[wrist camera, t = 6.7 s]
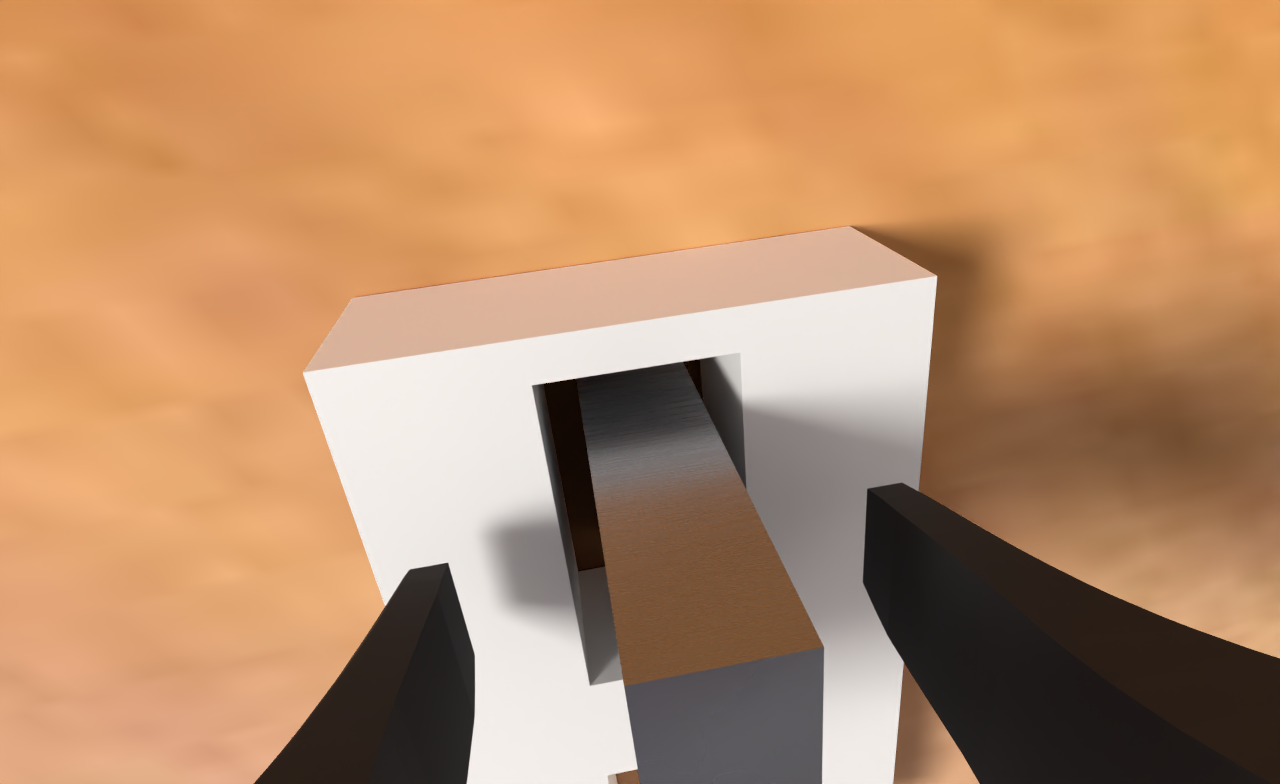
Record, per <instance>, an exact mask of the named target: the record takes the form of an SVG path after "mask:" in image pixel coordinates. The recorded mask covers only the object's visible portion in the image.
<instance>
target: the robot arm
mask: <svg viewBox="0 0 1280 784" xmlns="http://www.w3.org/2000/svg"><path fill="white" fill-rule="evenodd" d="M863 584H864V587H865V589H866V591H867V593H868V595H869V598H870V600H871V602H872V604H873V606H874V609H875V611H876V613H877V615H878V617H879V619H880V621H881V623H882V625H883V627H884V629H885V632H886V634H887V636H888V637H889V639H890V641H891V642H892V644H893V646H894V647H895V649H896V650H897V652H898V654H899V655H900V657H901V658H902V660H903V662H904V663H905V665H906V666H907V668H908V669H909V671H910V673H911V674H912V676H913V677H914V679H915V681H916V682H917V684H918V685H919V687H920V688H921V690H922V692H923V693H924V695H925V696H926V698H927V699H928V701H929V702H930V704H931V706H932V707H933V709H934V710H935V712H936V713H937V715H938V717H939V718H940V720H941V721H942V723H943V724H944V726H945V727H946V729H947V731H948V732H949V734H950V735H951V737H952V738H953V740H954V742H955V743H956V745H957V746H958V748H959V749H960V751H961V752H962V754H963V756H964V757H965V759H966V761H967V762H968V764H969V766H970V768H971V769H972V771H973V773H974V774H975V776H976V778H977V780H978V781H979V783H980V784H1280V659H1279V658H1276V657H1273V656H1270V655H1267V654H1264V653H1261V652H1258V651H1255V650H1252V649H1249V648H1246V647H1243V646H1240V645H1237V644H1235V643H1232V642H1229V641H1226V640H1223V639H1221V638H1218V637H1215V636H1212V635H1209V634H1207V633H1204V632H1201V631H1198V630H1195V629H1193V628H1190V627H1187V626H1185V625H1182V624H1180V623H1177V622H1175V621H1172V620H1169V619H1167V618H1164V617H1162V616H1159V615H1157V614H1155V613H1152V612H1150V611H1148V610H1145V609H1143V608H1141V607H1138V606H1136V605H1134V604H1131V603H1129V602H1126V601H1124V600H1122V599H1119V598H1117V597H1115V596H1112V595H1110V594H1108V593H1106V592H1104V591H1101V590H1099V589H1097V588H1095V587H1093V586H1091V585H1089V584H1086V583H1084V582H1082V581H1080V580H1078V579H1076V578H1074V577H1072V576H1070V575H1068V574H1066V573H1064V572H1062V571H1060V570H1058V569H1056V568H1054V567H1052V566H1050V565H1048V564H1046V563H1044V562H1042V561H1041V560H1039V559H1037V558H1035V557H1033V556H1031V555H1029V554H1027V553H1026V552H1024V551H1022V550H1020V549H1018V548H1016V547H1014V546H1013V545H1011V544H1009V543H1007V542H1005V541H1004V540H1002V539H1000V538H998V537H997V536H995V535H993V534H991V533H989V532H988V531H986V530H984V529H982V528H981V527H979V526H977V525H976V524H974V523H972V522H970V521H969V520H967V519H965V518H963V517H962V516H960V515H958V514H957V513H955V512H953V511H952V510H950V509H948V508H946V507H945V506H943V505H941V504H940V503H938V502H936V501H934V500H933V499H931V498H929V497H928V496H926V495H924V494H922V493H921V492H919V491H917V490H915V489H913V488H911V487H910V486H908V485H906V484H904V483H896V484H891V485H885V486H879V487H874V488H868V489H867V502H866V523H865V544H864V565H863ZM474 718H475V654H474V650H473V647H472V644H471V640H470V637H469V633H468V630H467V626H466V623H465V619H464V616H463V612H462V609H461V605H460V602H459V599H458V595H457V592H456V588H455V585H454V581H453V578H452V574H451V571H450V567H449V564H448V563H443V564H438V565H432V566H426V567H421V568H415V569H410V570H409V571H408V572H407V574H406V575H405V576H404V578H403V579H402V581H401V582H400V584H399V585H398V587H397V589H396V590H395V592H394V593H393V595H392V597H391V598H390V600H389V601H388V603H387V605H386V606H385V608H384V609H383V611H382V612H381V614H380V616H379V617H378V619H377V620H376V622H375V623H374V625H373V626H372V628H371V630H370V631H369V633H368V634H367V636H366V637H365V639H364V640H363V642H362V643H361V645H360V646H359V648H358V649H357V651H356V652H355V653H354V655H353V656H352V658H351V659H350V661H349V662H348V664H347V665H346V667H345V668H344V670H343V671H342V672H341V674H340V675H339V677H338V678H337V680H336V681H335V682H334V684H333V685H332V687H331V688H330V689H329V691H328V692H327V693H326V695H325V696H324V697H323V699H322V700H321V701H320V702H319V704H318V705H317V706H316V708H315V709H314V710H313V712H312V713H311V714H310V716H309V717H308V718H307V720H306V721H305V722H304V724H303V725H302V726H301V728H300V729H299V730H298V732H297V733H296V734H295V735H294V737H293V738H292V739H291V740H290V741H289V743H288V744H287V745H286V746H285V748H284V749H283V750H282V751H281V753H280V754H279V755H278V756H277V757H276V758H275V760H274V761H273V762H272V763H271V764H270V766H269V767H268V768H267V769H266V770H265V771H264V773H263V774H262V775H261V776H260V777H259V778H258V779H257V781H256V782H255V783H254V784H467V778H468V770H469V761H470V753H471V745H472V736H473V727H474Z"/></svg>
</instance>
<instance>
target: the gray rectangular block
mask: <svg viewBox="0 0 1280 784" xmlns="http://www.w3.org/2000/svg"><path fill="white" fill-rule="evenodd" d="M576 381H577V388H578V394H579V401H580V407H581V413H582V420H583V426H584V433H585V439H586V445H587V452H588V458H589V465H590V471H591V477H592V484H593V490H594V497H595V503H596V509H597V516H598V522H599V529H600V535H601V542H602V548H603V554H604V561H605V567H606V574H607V580H608V586H609V593H610V599H611V606H612V612H613V618H614V625H615V631H616V638H617V644H618V650H619V657H620V663H621V670H622V676H623V682H624V689H625V695H626V701H627V707H628V713H629V719H630V725H631V731H632V737H633V743H634V750H635V756H636V762H637V768H638V774H639V780H640V784H822V753H823V690H824V646H823V644H822V642H821V640H820V638H819V636H818V634H817V632H816V630H815V628H814V626H813V624H812V621H811V619H810V617H809V615H808V613H807V611H806V609H805V607H804V605H803V603H802V601H801V599H800V597H799V595H798V593H797V591H796V589H795V587H794V585H793V583H792V581H791V579H790V577H789V575H788V573H787V571H786V569H785V567H784V565H783V563H782V561H781V559H780V557H779V555H778V553H777V551H776V549H775V547H774V545H773V543H772V541H771V539H770V537H769V535H768V533H767V531H766V529H765V527H764V525H763V523H762V521H761V519H760V517H759V515H758V513H757V510H756V508H755V506H754V504H753V502H752V500H751V498H750V496H749V494H748V492H747V490H746V488H745V486H744V484H743V482H742V480H741V478H740V476H739V474H738V472H737V470H736V468H735V466H734V464H733V462H732V460H731V458H730V456H729V454H728V452H727V450H726V448H725V446H724V444H723V442H722V440H721V438H720V436H719V434H718V432H717V430H716V428H715V426H714V424H713V422H712V420H711V418H710V416H709V414H708V412H707V410H706V408H705V406H704V404H703V401H702V399H701V397H700V395H699V393H698V391H697V389H696V387H695V385H694V383H693V381H692V379H691V377H690V375H689V373H688V371H687V369H686V367H685V365H684V363H683V362H677V363H671V364H665V365H658V366H652V367H645V368H639V369H633V370H626V371H620V372H614V373H607V374H601V375H595V376H588V377H582V378H576Z"/></svg>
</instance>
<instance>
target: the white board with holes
mask: <svg viewBox="0 0 1280 784" xmlns="http://www.w3.org/2000/svg"><path fill="white" fill-rule="evenodd" d="M936 286H937V275H935V274H933V273H931V272H930V271H928V270H926V269H924V268H922V267H921V266H919V265H917V264H915V263H914V262H912V261H910V260H908V259H907V258H905V257H903V256H901V255H900V254H898V253H896V252H894V251H893V250H891V249H889V248H887V247H886V246H884V245H882V244H880V243H879V242H877V241H875V240H873V239H872V238H870V237H868V236H866V235H864V234H863V233H861V232H859V231H857V230H856V229H854V228H852V227H850V226H846V227H839V228H832V229H825V230H818V231H811V232H804V233H797V234H790V235H784V236H777V237H770V238H763V239H756V240H749V241H742V242H735V243H728V244H721V245H714V246H707V247H701V248H694V249H687V250H680V251H673V252H666V253H659V254H652V255H645V256H638V257H631V258H624V259H617V260H611V261H604V262H597V263H590V264H583V265H576V266H569V267H562V268H555V269H548V270H541V271H534V272H528V273H521V274H514V275H507V276H500V277H493V278H486V279H479V280H472V281H465V282H458V283H451V284H444V285H438V286H431V287H424V288H417V289H410V290H403V291H396V292H389V293H382V294H375V295H368V296H361V297H355V298H352V299H351V301H350V302H349V304H348V305H347V307H346V308H345V310H344V311H343V313H342V314H341V316H340V317H339V319H338V320H337V322H336V323H335V325H334V326H333V328H332V329H331V331H330V332H329V334H328V335H327V337H326V338H325V340H324V341H323V343H322V344H321V346H320V347H319V349H318V350H317V352H316V353H315V355H314V356H313V358H312V359H311V361H310V362H309V364H308V365H307V367H306V368H305V370H304V371H303V375H304V378H305V380H306V383H307V386H308V389H309V392H310V395H311V397H312V400H313V403H314V406H315V409H316V412H317V414H318V417H319V420H320V423H321V426H322V429H323V431H324V434H325V437H326V440H327V443H328V446H329V448H330V451H331V454H332V457H333V460H334V463H335V465H336V468H337V471H338V474H339V477H340V480H341V482H342V485H343V488H344V491H345V494H346V497H347V499H348V502H349V505H350V508H351V511H352V514H353V516H354V519H355V522H356V525H357V528H358V531H359V533H360V536H361V539H362V542H363V545H364V548H365V550H366V553H367V556H368V559H369V562H370V565H371V567H372V570H373V573H374V576H375V579H376V582H377V585H378V587H379V590H380V593H381V596H382V599H383V602H384V604H385V606H386V605H387V603H388V601H389V600H390V598H391V597H392V595H393V593H394V592H395V590H396V589H397V587H398V585H399V584H400V582H401V581H402V579H403V578H404V576H405V575H406V574H407V572H408V571H409V570H410V569H415V568H421V567H426V566H432V565H438V564H443V563H448V564H449V567H450V571H451V574H452V578H453V581H454V585H455V588H456V592H457V595H458V599H459V602H460V605H461V609H462V612H463V616H464V619H465V623H466V626H467V630H468V633H469V637H470V640H471V644H472V647H473V650H474V654H475V718H474V727H473V736H472V745H471V753H470V761H469V770H468V778H467V784H617V779H616V774H617V773H622V772H627V771H632V770H637V769H638V768H637V762H636V756H635V750H634V743H633V737H632V731H631V725H630V719H629V713H628V707H627V701H626V695H625V689H624V682H623V676H622V670H621V663H620V657H619V650H618V644H617V638H616V631H615V625H614V618H613V612H612V606H611V599H610V593H609V586H608V580H607V574H606V567H600V568H595V569H589V570H584V571H578V568H577V563H576V558H575V552H574V547H573V541H572V536H571V531H570V525H569V520H568V514H567V509H566V504H565V498H564V493H563V487H562V482H561V477H560V471H559V466H558V460H557V455H556V450H555V444H554V439H553V433H552V428H551V423H550V417H549V412H548V406H547V401H546V396H545V390H544V385H543V384H544V383H550V382H557V381H563V380H569V379H576V378H582V377H588V376H595V375H601V374H607V373H614V372H620V371H626V370H633V369H639V368H645V367H652V366H658V365H665V364H671V363H677V362H684V361H690V360H696V359H700V368H701V382H702V396H703V404H704V406H705V408H706V410H707V412H708V414H709V416H710V418H711V420H712V422H713V424H714V426H715V428H716V430H717V432H718V434H719V436H720V438H721V440H722V442H723V444H724V446H725V448H726V450H727V452H728V454H729V456H730V458H731V460H732V462H733V464H734V466H735V468H736V470H737V472H738V474H739V476H740V478H741V480H742V482H743V484H744V486H745V488H746V490H747V492H748V494H749V496H750V498H751V500H752V502H753V504H754V506H755V508H756V510H757V513H758V515H759V517H760V519H761V521H762V523H763V525H764V527H765V529H766V531H767V533H768V535H769V537H770V539H771V541H772V543H773V545H774V547H775V549H776V551H777V553H778V555H779V557H780V559H781V561H782V563H783V565H784V567H785V569H786V571H787V573H788V575H789V577H790V579H791V581H792V583H793V585H794V587H795V589H796V591H797V593H798V595H799V597H800V599H801V601H802V603H803V605H804V607H805V609H806V611H807V613H808V615H809V617H810V619H811V621H812V624H813V626H814V628H815V630H816V632H817V634H818V636H819V638H820V640H821V642H822V644H823V646H824V690H823V753H822V784H893V779H894V768H895V756H896V745H897V733H898V722H899V710H900V699H901V687H902V676H903V665H904V662H903V660H902V658H901V657H900V655H899V654H898V652H897V650H896V649H895V647H894V646H893V644H892V642H891V641H890V639H889V637H888V636H887V634H886V632H885V629H884V627H883V625H882V623H881V621H880V619H879V617H878V615H877V613H876V611H875V609H874V606H873V604H872V602H871V600H870V598H869V595H868V593H867V591H866V589H865V587H864V584H863V565H864V544H865V523H866V502H867V489H868V488H874V487H879V486H885V485H891V484H896V483H904V484H906V485H908V486H910V487H911V488H913V489H915V490H917V491H919V481H920V469H921V458H922V446H923V435H924V423H925V412H926V400H927V389H928V377H929V366H930V354H931V343H932V332H933V320H934V309H935V297H936Z"/></svg>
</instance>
